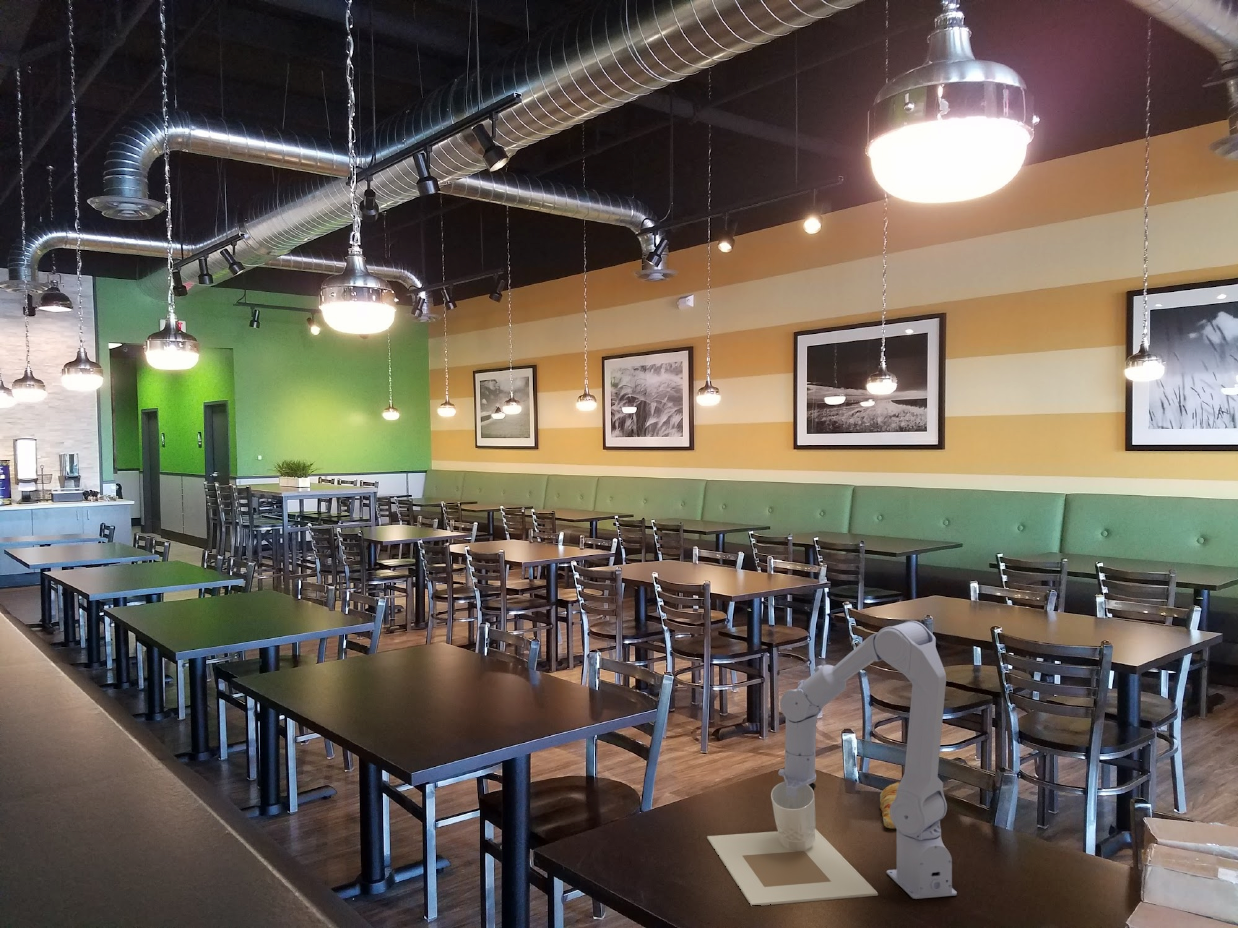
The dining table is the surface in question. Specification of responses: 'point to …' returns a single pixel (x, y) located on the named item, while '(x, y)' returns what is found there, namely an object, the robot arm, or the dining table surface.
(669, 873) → the dining table surface
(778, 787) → the white cup
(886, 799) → the croissant
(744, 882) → the placemat
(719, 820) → the dining table surface
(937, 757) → the robot arm
